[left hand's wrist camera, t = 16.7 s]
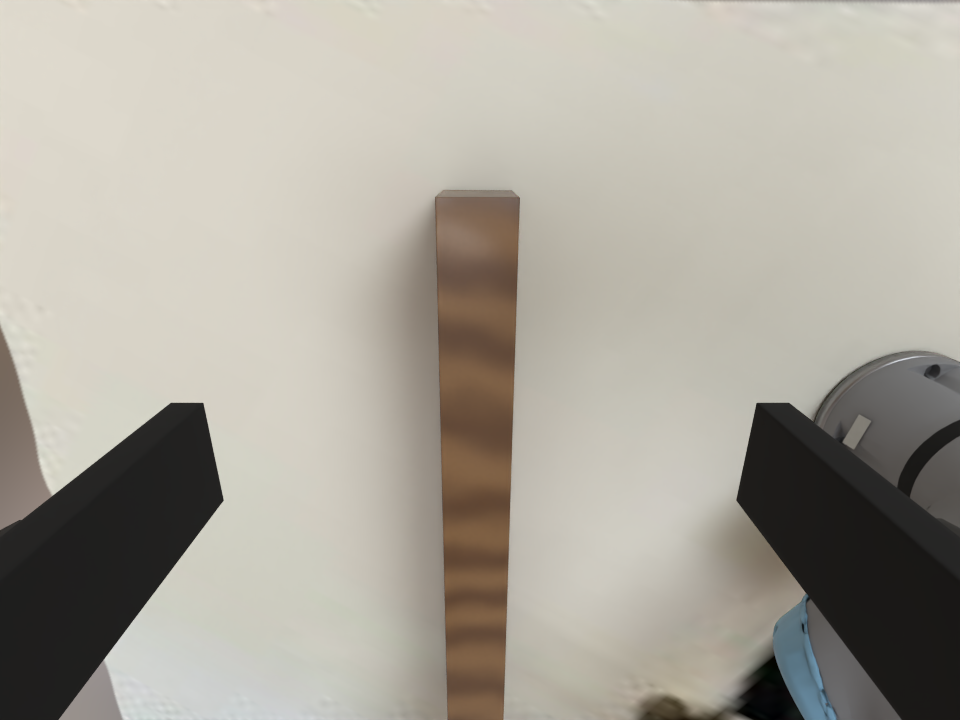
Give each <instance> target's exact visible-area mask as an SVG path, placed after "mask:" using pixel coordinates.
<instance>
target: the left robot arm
mask: <svg viewBox="0 0 960 720" xmlns="http://www.w3.org/2000/svg"><path fill="white" fill-rule="evenodd" d="M223 501H224V500H223V495H222V490H221V485H220V481H219V476H218V471H217V466H216V461H215V457H214V452H213V447H212V442H211V438H210V433H209V428H208V423H207V418H206V414H205V409H204V404H203V403H170V404H169V405H168V406H166V407H165V408H164V409H163V410H161V411H160V412H159V413H158V414H156V415H155V416H154V417H152V418H151V419H150V420H149V421H147V422H146V423H145V424H144V425H142V426H141V427H140V428H138V429H137V430H136V431H135V432H133V433H132V434H131V435H130V436H128V437H127V438H126V439H124V440H123V441H122V442H121V443H119V444H118V445H117V446H116V447H114V448H113V449H112V450H110V451H109V452H108V453H107V454H105V455H104V456H103V457H102V458H100V459H99V460H98V461H96V462H95V463H94V464H93V465H91V466H90V467H89V468H88V469H86V470H85V471H84V472H82V473H81V474H80V475H79V476H77V477H76V478H75V479H74V480H72V481H71V482H70V483H68V484H67V485H66V486H65V487H63V488H62V489H61V490H60V491H58V492H57V493H56V494H54V495H53V496H52V497H51V498H49V499H48V500H47V501H46V502H44V503H43V504H42V505H41V506H39V507H38V508H37V509H35V510H34V511H33V512H32V513H30V514H29V515H28V516H26V517H25V518H24V519H23V520H19V521H17V522H15V523H13V524H11V525H9V526H7V527H5V528H4V529H2V530H0V720H59V718H60V717H61V716H62V714H63V713H64V712H65V710H66V709H67V708H68V706H69V705H70V704H71V702H72V701H73V700H74V698H75V697H76V696H77V694H78V693H79V692H80V690H81V689H82V688H83V686H84V685H85V684H86V682H87V681H88V680H89V678H90V677H91V676H92V674H93V673H94V672H95V670H96V669H97V668H98V666H99V665H100V664H101V662H102V661H103V660H104V659H105V657H106V656H107V655H108V653H109V652H110V651H111V649H112V648H113V647H114V645H115V644H116V643H117V641H118V640H119V639H120V637H121V636H122V635H123V633H124V632H125V631H126V629H127V628H128V627H129V625H130V624H131V623H132V621H133V620H134V619H135V617H136V616H137V615H138V613H139V612H140V611H141V609H142V608H143V607H144V605H145V604H146V603H147V601H148V600H149V599H150V597H151V596H152V595H153V593H154V592H155V591H156V589H157V588H158V587H159V585H160V584H161V583H162V582H163V580H164V579H165V578H166V576H167V575H168V574H169V572H170V571H171V570H172V568H173V567H174V566H175V564H176V563H177V562H178V560H179V559H180V558H181V556H182V555H183V554H184V552H185V551H186V550H187V548H188V547H189V546H190V544H191V543H192V542H193V540H194V539H195V538H196V536H197V535H198V534H199V532H200V531H201V530H202V528H203V527H204V526H205V524H206V523H207V522H208V520H209V519H210V518H211V516H212V515H213V514H214V512H215V511H216V510H217V508H218V507H219V506H220V505H221V503H222V502H223ZM736 501H737V502H738V503H739V505H740V506H741V507H742V508H743V510H744V511H745V512H746V514H747V515H748V516H749V518H750V519H751V520H752V522H753V523H754V524H755V526H756V527H757V528H758V530H759V531H760V532H761V534H762V535H763V536H764V538H765V539H766V540H767V542H768V543H769V544H770V546H771V547H772V548H773V550H774V551H775V552H776V554H777V555H778V556H779V558H780V559H781V560H782V562H783V563H784V564H785V566H786V567H787V568H788V570H789V571H790V572H791V574H792V575H793V576H794V578H795V579H796V580H797V582H798V583H799V584H800V585H801V587H802V588H803V589H804V591H805V592H806V593H807V594H805V596H804V597H803V599H802V601H801V602H800V603H799V604H798V605H796V606H795V607H794V608H792V609H791V610H790V611H789V612H787V613H786V614H785V615H784V616H782V617H781V618H780V619H779V620H778V621H777V623H776V625H775V627H774V633H773V648H774V653H775V657H776V660H777V663H778V666H779V669H780V671H781V674H782V676H783V679H784V681H785V683H786V685H787V687H788V689H789V692H790V694H791V696H792V697H793V699H794V701H795V703H796V705H797V707H798V708H799V710H800V712H801V714H802V715H803V717H804V719H805V720H960V362H958V361H956V360H954V359H951V358H949V357H946V356H944V355H941V354H938V353H933V352H926V351H909V352H901V353H896V354H892V355H888V356H885V357H882V358H880V359H877V360H875V361H873V362H870V363H868V364H867V365H865V366H863V367H861V368H860V369H858V370H856V371H855V372H853V373H852V374H851V375H849V376H848V377H847V378H846V379H844V380H843V381H842V382H841V383H840V384H839V385H838V386H837V387H836V388H835V389H834V390H833V391H832V393H831V394H830V395H829V396H828V398H827V399H826V400H825V402H824V403H823V405H822V407H821V408H820V410H819V412H818V414H817V417H816V419H815V422H813V421H811V420H810V419H809V418H808V417H806V416H805V415H804V414H802V413H801V412H800V411H799V410H797V409H796V408H795V407H794V406H792V405H791V404H790V403H757V404H756V409H755V414H754V418H753V423H752V428H751V433H750V438H749V442H748V447H747V452H746V457H745V461H744V466H743V471H742V476H741V481H740V485H739V490H738V495H737V500H736Z"/></svg>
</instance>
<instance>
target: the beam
mask: <svg viewBox="0 0 960 720" xmlns="http://www.w3.org/2000/svg"><path fill="white" fill-rule="evenodd" d="M519 205H520V198H519V197H518V196H517V195H516V194H515V193H514V192H513V191H510V190H443V191H442V192H441V193H439V194H438V195H437V196H436V197H435V210H436V251H437V293H438V334H439V375H440V417H441V458H442V500H443V541H444V582H445V624H446V665H447V706H448V720H503V714H504V682H505V650H506V618H507V587H508V555H509V523H510V491H511V460H512V428H513V396H514V364H515V332H516V301H517V269H518V237H519Z"/></svg>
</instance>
